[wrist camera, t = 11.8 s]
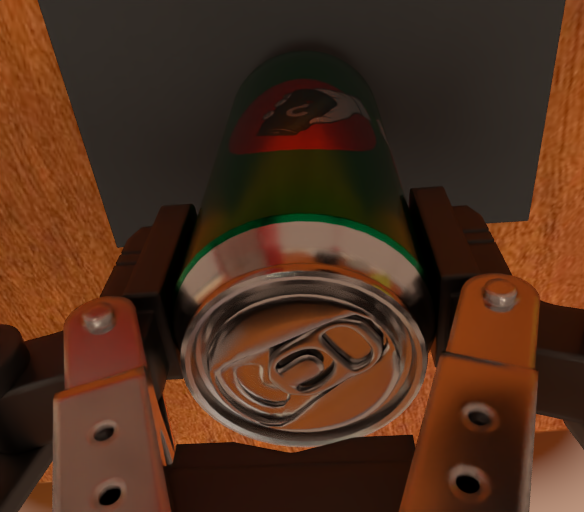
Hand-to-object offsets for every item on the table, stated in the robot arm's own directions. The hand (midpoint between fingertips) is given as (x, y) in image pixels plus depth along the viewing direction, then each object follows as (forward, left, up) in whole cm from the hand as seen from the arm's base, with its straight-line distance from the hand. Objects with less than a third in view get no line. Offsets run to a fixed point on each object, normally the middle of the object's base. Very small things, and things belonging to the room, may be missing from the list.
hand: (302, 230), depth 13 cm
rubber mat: (0, 0, -10) cm, 10 cm away
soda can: (0, 0, -8) cm, 8 cm away
